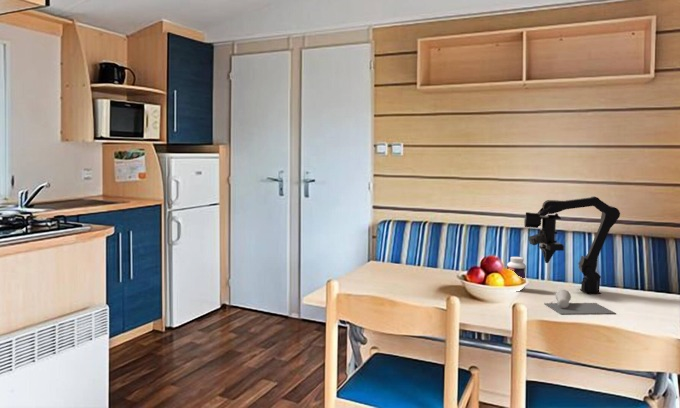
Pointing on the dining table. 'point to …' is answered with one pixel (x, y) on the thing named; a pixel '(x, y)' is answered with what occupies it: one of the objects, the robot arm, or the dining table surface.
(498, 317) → the dining table surface
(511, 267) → the pill bottle
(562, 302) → the salt shaker
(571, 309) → the mat
